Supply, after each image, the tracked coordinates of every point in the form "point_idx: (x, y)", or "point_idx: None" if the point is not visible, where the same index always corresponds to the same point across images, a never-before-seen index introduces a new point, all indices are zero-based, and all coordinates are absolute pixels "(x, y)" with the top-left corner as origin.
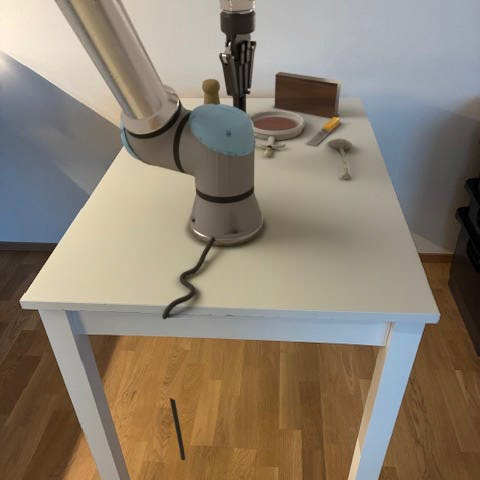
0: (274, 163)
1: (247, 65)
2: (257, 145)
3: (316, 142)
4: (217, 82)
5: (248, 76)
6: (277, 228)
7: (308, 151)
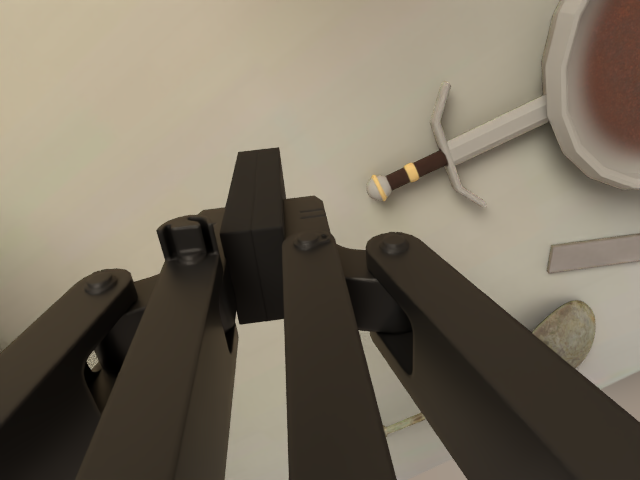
0: (339, 234)
1: (491, 473)
2: (437, 100)
3: (567, 265)
4: None
5: (416, 389)
6: None
7: (489, 274)
